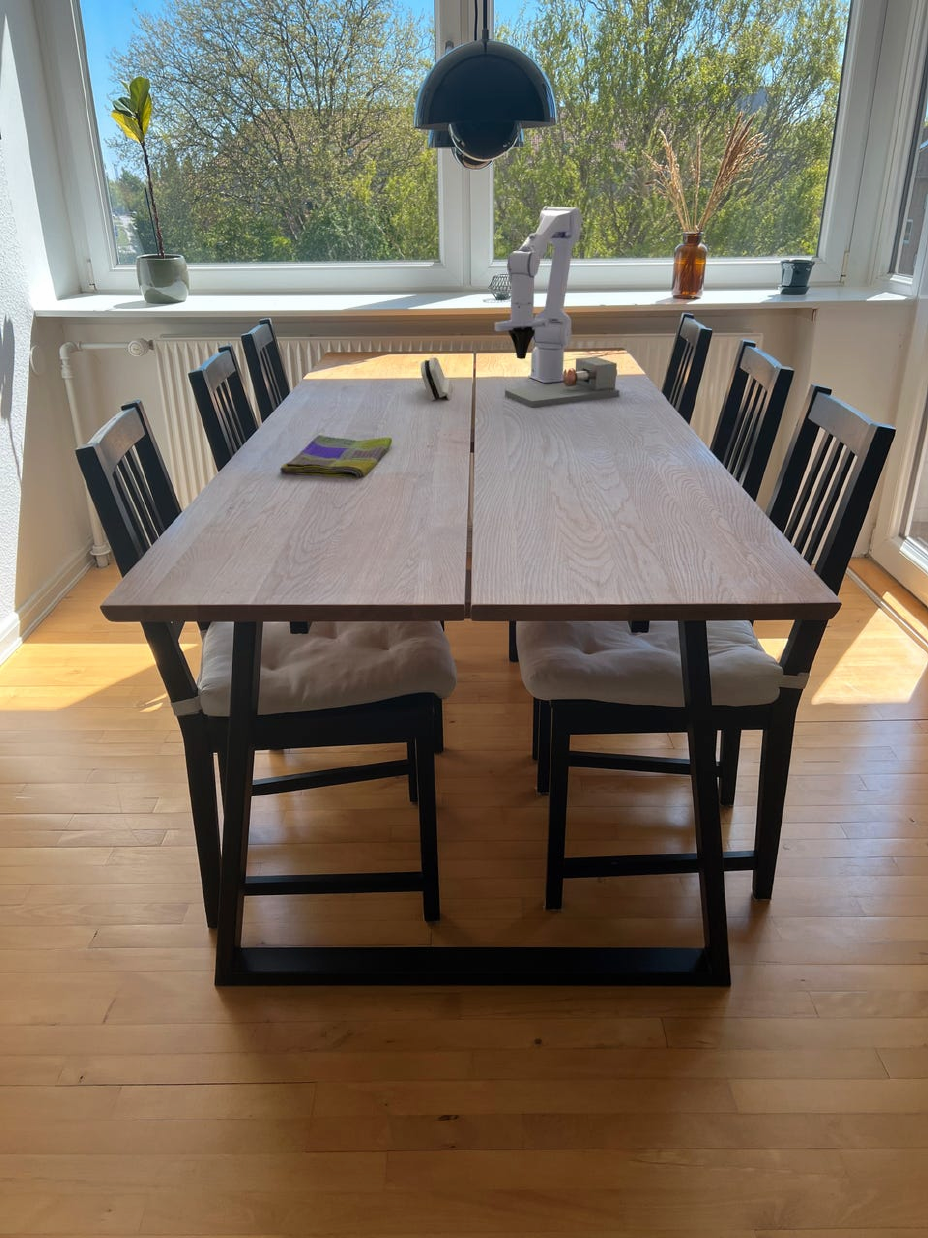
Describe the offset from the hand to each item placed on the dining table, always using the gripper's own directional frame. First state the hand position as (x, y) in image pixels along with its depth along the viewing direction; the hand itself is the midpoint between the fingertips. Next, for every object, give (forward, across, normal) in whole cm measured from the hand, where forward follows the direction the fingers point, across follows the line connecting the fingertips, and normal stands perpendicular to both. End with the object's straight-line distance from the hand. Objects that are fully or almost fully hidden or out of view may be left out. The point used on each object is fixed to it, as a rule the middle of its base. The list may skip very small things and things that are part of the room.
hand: (521, 357), depth 239 cm
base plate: (+9, +9, -6) cm, 14 cm away
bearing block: (+8, +19, -6) cm, 21 cm away
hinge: (+10, -18, +12) cm, 24 cm away
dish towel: (+10, -61, -33) cm, 70 cm away
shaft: (+7, +18, -6) cm, 20 cm away
